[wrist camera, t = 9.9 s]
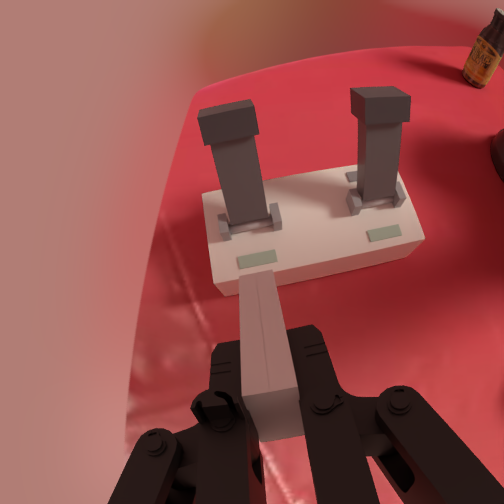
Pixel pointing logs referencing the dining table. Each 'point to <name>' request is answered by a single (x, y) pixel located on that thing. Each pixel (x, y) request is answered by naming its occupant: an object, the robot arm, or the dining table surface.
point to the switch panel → (310, 230)
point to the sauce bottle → (486, 52)
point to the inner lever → (379, 137)
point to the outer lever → (236, 158)
